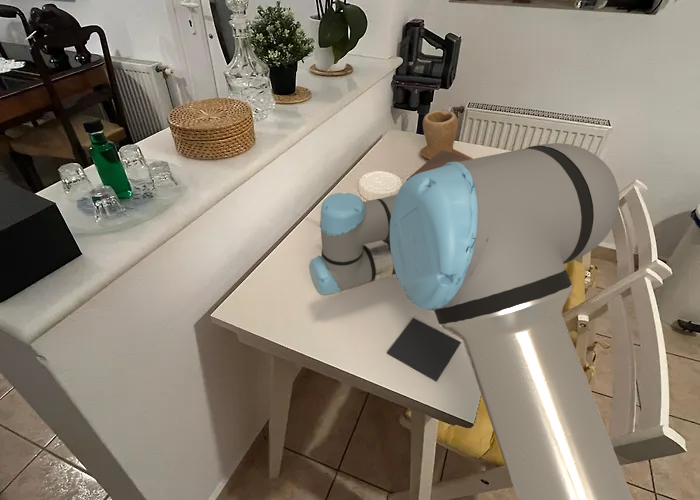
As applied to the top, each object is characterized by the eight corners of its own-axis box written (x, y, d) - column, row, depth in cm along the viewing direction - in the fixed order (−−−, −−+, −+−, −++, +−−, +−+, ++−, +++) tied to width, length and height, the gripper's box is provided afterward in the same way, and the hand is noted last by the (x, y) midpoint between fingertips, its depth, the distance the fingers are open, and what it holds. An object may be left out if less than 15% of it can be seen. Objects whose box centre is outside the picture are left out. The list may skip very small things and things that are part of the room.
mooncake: (409, 188, 121) (410, 177, 118) (388, 208, 113) (389, 196, 111) (372, 175, 126) (373, 164, 123) (350, 194, 118) (350, 182, 116)
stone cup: (410, 157, 135) (415, 110, 125) (436, 146, 141) (443, 101, 131) (446, 177, 126) (454, 128, 116) (472, 165, 131) (483, 118, 122)
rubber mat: (460, 343, 80) (460, 342, 80) (436, 381, 73) (436, 380, 73) (413, 319, 84) (413, 317, 84) (386, 353, 78) (386, 352, 78)
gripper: (364, 243, 95) (450, 218, 102) (410, 303, 81) (506, 270, 89) (365, 215, 90) (456, 191, 97) (414, 274, 76) (515, 242, 84)
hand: (479, 229), depth 93 cm, fingers closed on soda can, 7 cm apart
